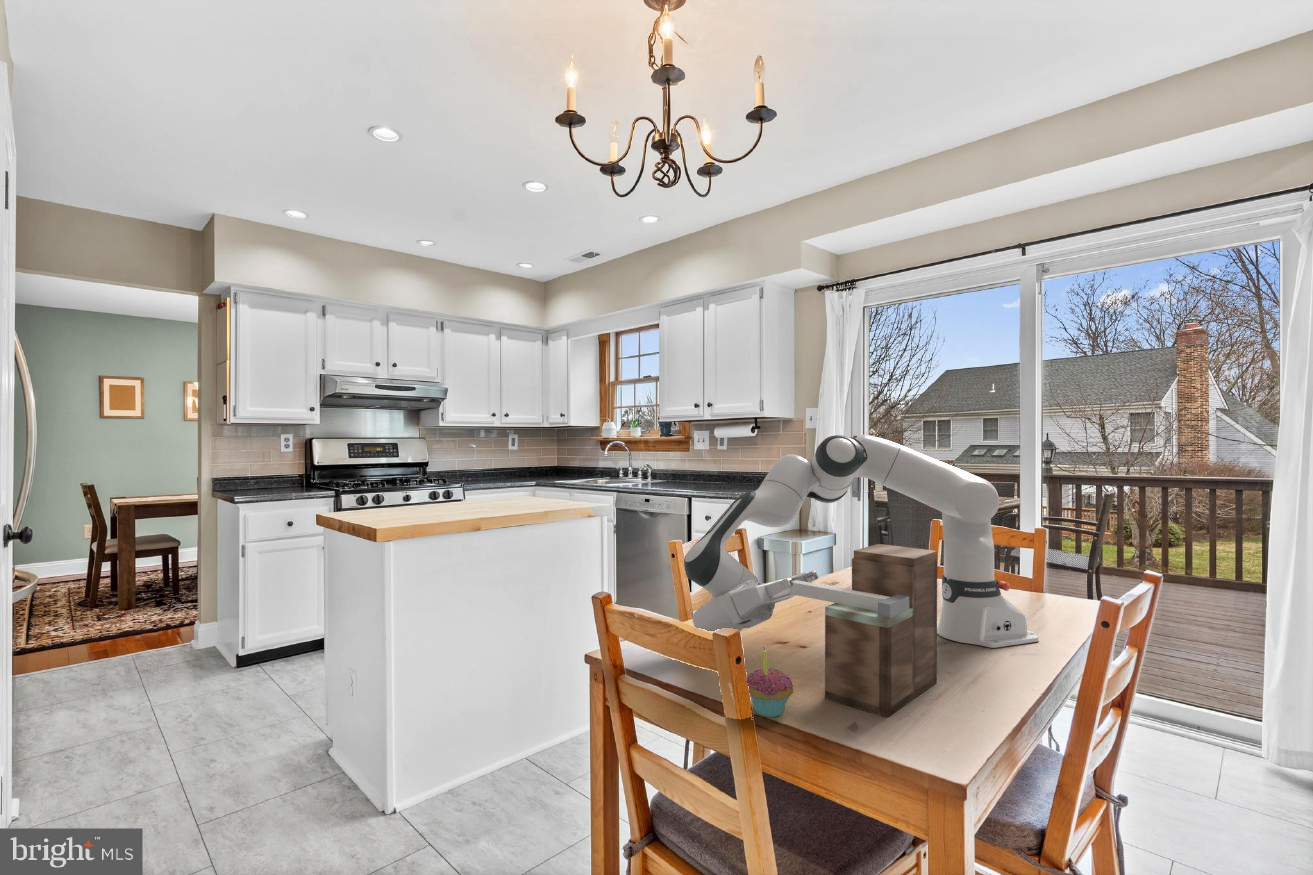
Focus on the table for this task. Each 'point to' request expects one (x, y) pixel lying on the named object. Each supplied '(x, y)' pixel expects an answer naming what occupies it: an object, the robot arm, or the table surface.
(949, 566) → the robot arm
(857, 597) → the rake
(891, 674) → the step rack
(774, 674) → the cupcake
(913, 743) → the table surface
